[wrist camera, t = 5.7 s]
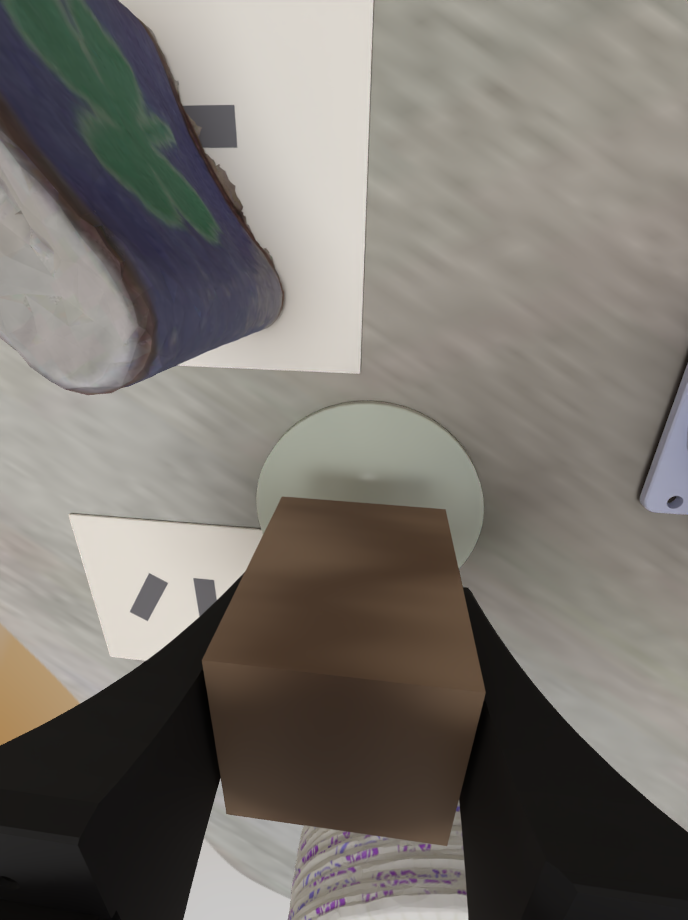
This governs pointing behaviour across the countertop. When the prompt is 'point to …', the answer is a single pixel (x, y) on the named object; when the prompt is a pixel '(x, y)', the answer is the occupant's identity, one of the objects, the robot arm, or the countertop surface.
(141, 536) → the code tile
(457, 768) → the walnut block
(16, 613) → the countertop surface
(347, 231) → the code tile
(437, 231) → the countertop surface
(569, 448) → the countertop surface
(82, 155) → the flask
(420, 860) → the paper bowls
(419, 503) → the plate
